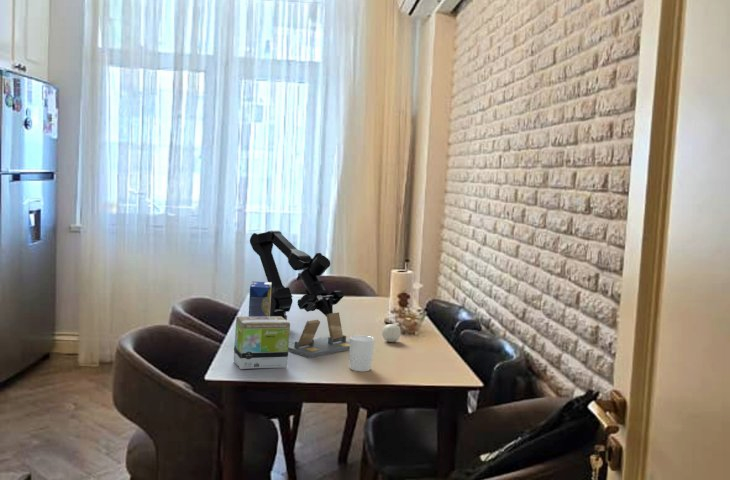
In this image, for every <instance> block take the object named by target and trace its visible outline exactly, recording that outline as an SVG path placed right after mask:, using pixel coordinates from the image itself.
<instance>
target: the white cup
mask: <svg viewBox="0 0 730 480" xmlns="http://www.w3.org/2000/svg"><path fill="white" fill-rule="evenodd" d="M349 342H350V349H349V350H348V351H349V357H348V358H349V369H350V370H352V371H355V372H368V371H371V370H372V369H371V368H372V361H373V355H374V349H375V347H374V345H375V338H374V337H373V336H369V335H363V334H356V335H350V336H349Z"/></svg>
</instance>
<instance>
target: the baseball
mask: <svg viewBox="0 0 730 480" xmlns="http://www.w3.org/2000/svg"><path fill="white" fill-rule="evenodd" d="M381 332H382V334H381V335H382V338H383V340H385V341H386V342H387V343H395V342H398V340H399V339H400V337H401V335H402V334H401V329H400V327H399V326H398V325H397V324H394V323H388V324H386V325H384V327H383V328H382V331H381Z"/></svg>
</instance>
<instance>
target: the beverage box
mask: <svg viewBox="0 0 730 480" xmlns="http://www.w3.org/2000/svg"><path fill="white" fill-rule="evenodd" d="M271 289H272V282H268V281H254V280H253V281H251V283H250V286H249V298H248V317H260V316H270V308H271Z"/></svg>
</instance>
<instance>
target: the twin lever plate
mask: <svg viewBox="0 0 730 480" xmlns="http://www.w3.org/2000/svg"><path fill="white" fill-rule="evenodd" d="M342 338H343V341H338V342H333V338H331V337H330V336H325V337H320V338H315V339H314V338H313V340H312V343H311V344H310V345H307V346H301V347H300V342H299V341H294V342H293V343H292V342H291V343H289V346H288V352H289V353H293V354H297V355H299V356H302V357H304V358H305V357H306V358H307V359H308V358H309V359H311V358H316V357H319V356H325V355H330V354H334V353H335V354H336V353H339V352H344V351H349V349H350V340H347V335H344V334H343V337H342Z"/></svg>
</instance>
